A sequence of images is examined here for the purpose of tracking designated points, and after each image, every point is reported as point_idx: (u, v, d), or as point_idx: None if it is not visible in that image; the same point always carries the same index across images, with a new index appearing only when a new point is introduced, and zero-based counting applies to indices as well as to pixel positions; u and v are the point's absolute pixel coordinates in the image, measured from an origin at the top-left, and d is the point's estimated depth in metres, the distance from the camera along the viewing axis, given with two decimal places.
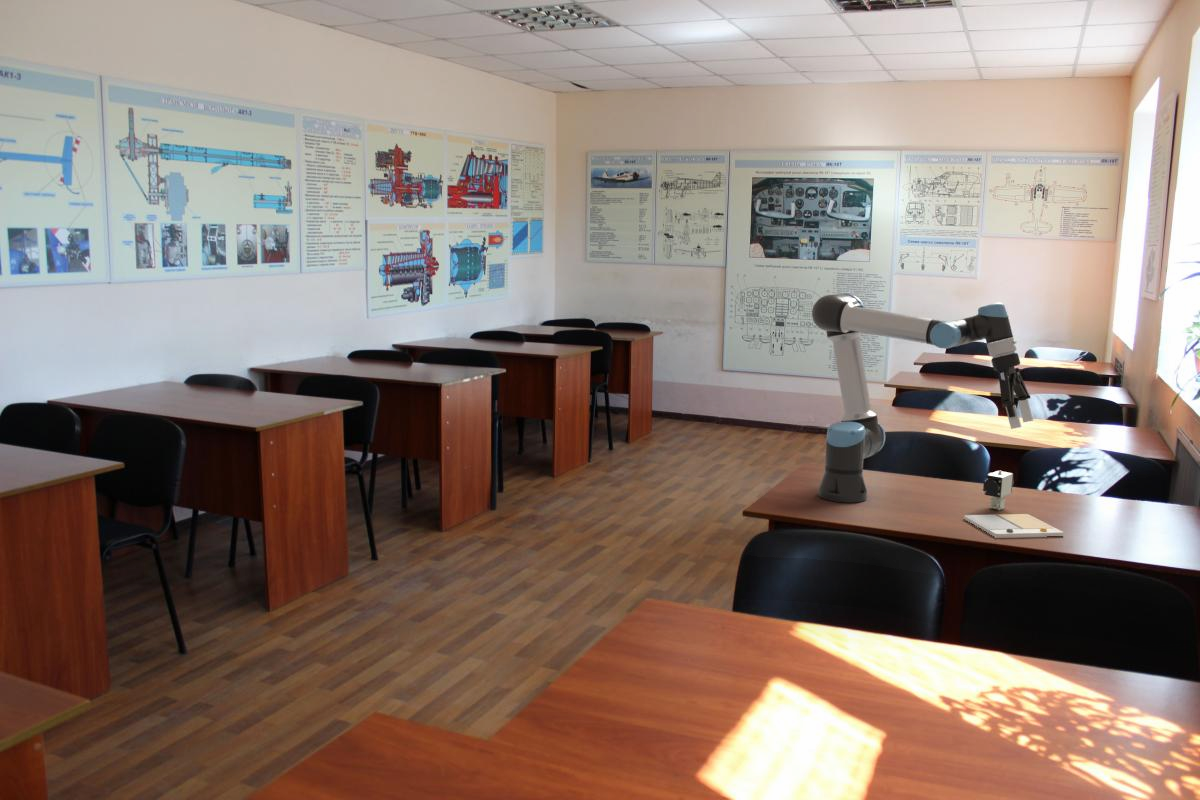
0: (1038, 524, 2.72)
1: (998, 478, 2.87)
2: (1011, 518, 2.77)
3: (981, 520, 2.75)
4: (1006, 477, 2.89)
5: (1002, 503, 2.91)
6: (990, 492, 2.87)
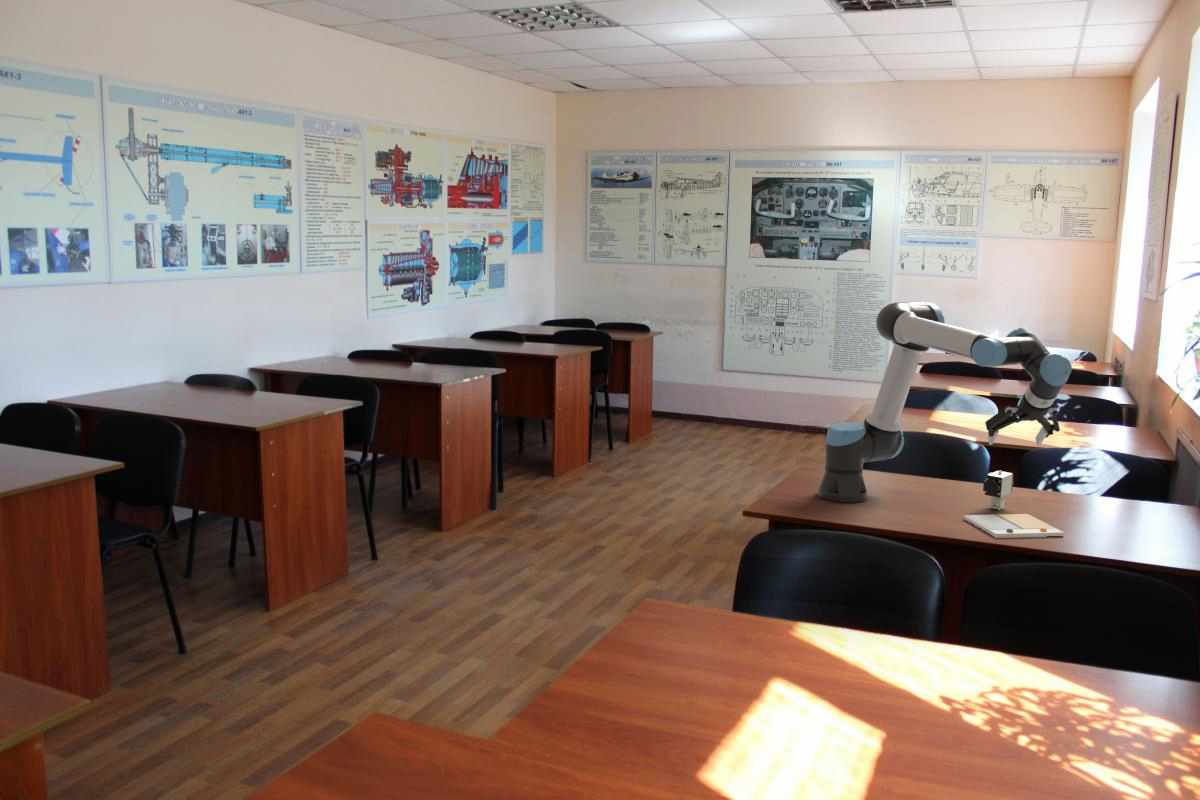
0: (1038, 524, 2.72)
1: (998, 478, 2.87)
2: (1011, 518, 2.77)
3: (981, 520, 2.75)
4: (1006, 477, 2.89)
5: (1002, 503, 2.91)
6: (990, 492, 2.87)
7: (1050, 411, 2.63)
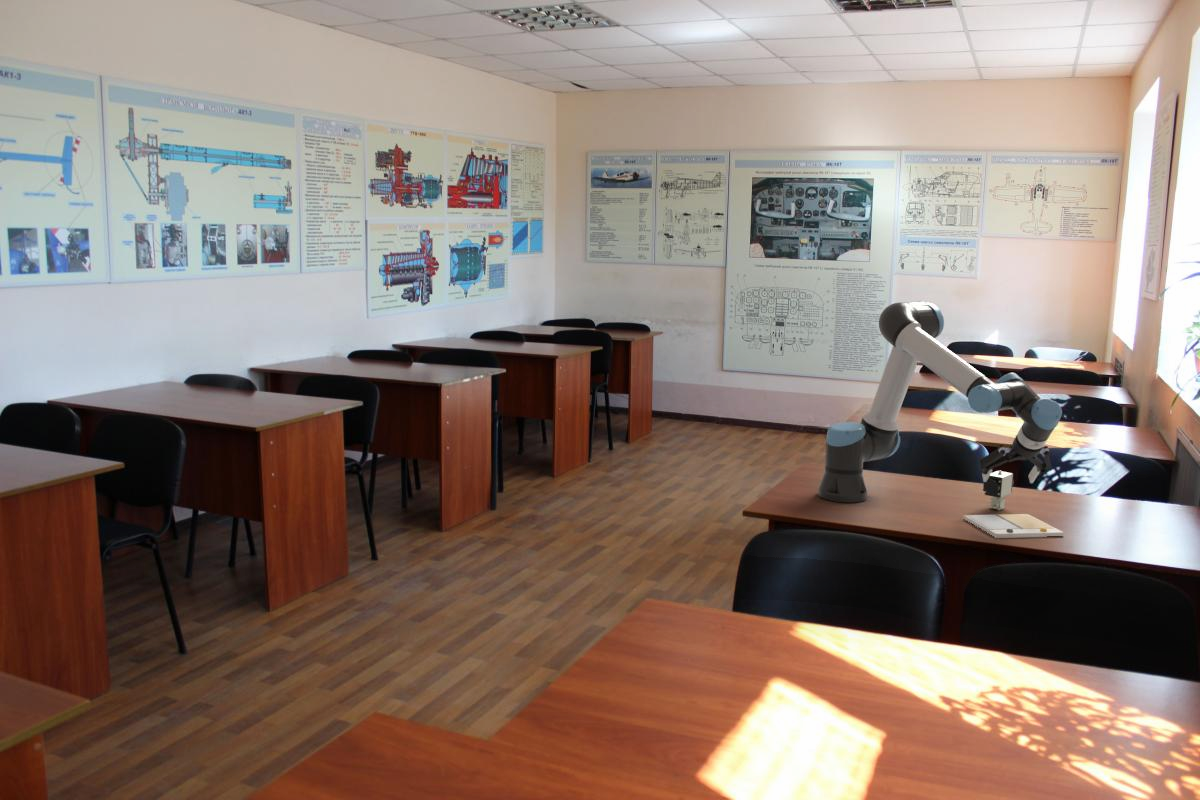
0: (1038, 524, 2.72)
1: (998, 478, 2.87)
2: (1011, 518, 2.77)
3: (981, 520, 2.75)
4: (1006, 477, 2.89)
5: (1002, 503, 2.91)
6: (990, 492, 2.87)
7: (1042, 451, 2.72)
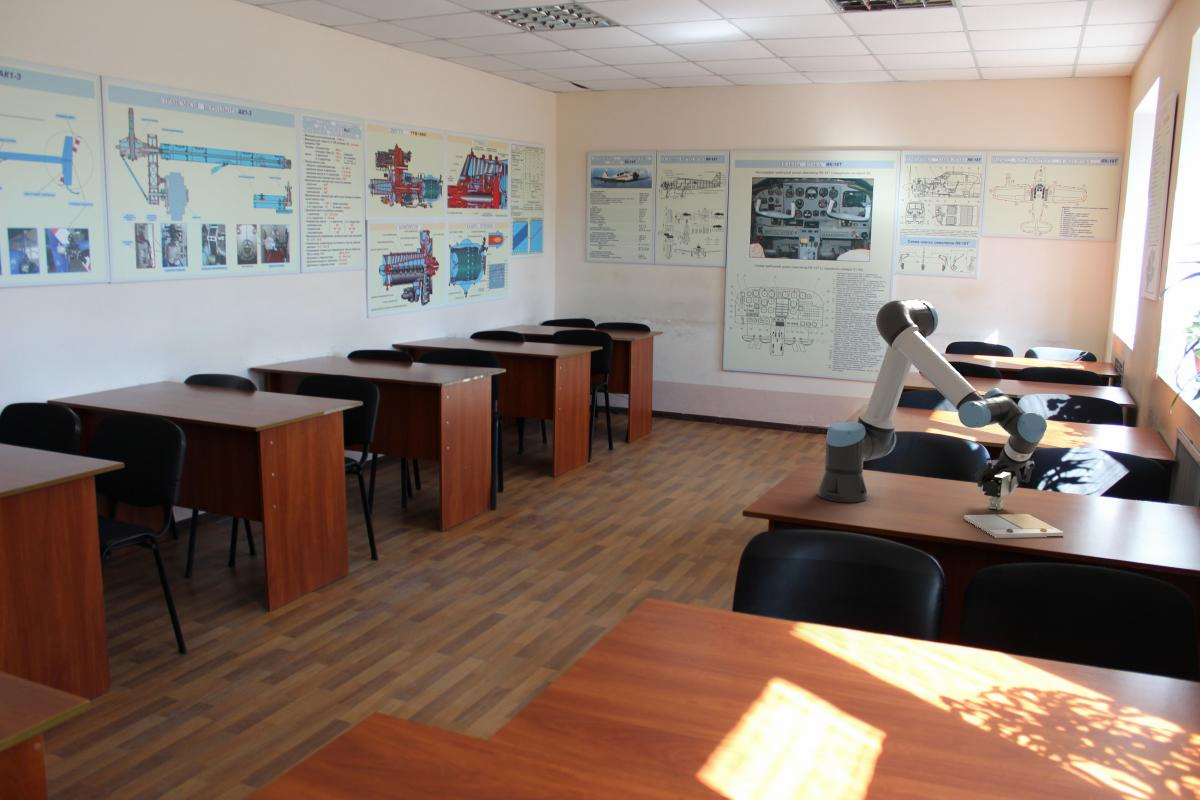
0: (1038, 524, 2.72)
1: (998, 478, 2.87)
2: (1011, 518, 2.77)
3: (981, 520, 2.75)
4: (1005, 477, 2.89)
5: (1001, 503, 2.91)
6: (990, 492, 2.87)
7: (1028, 463, 2.81)
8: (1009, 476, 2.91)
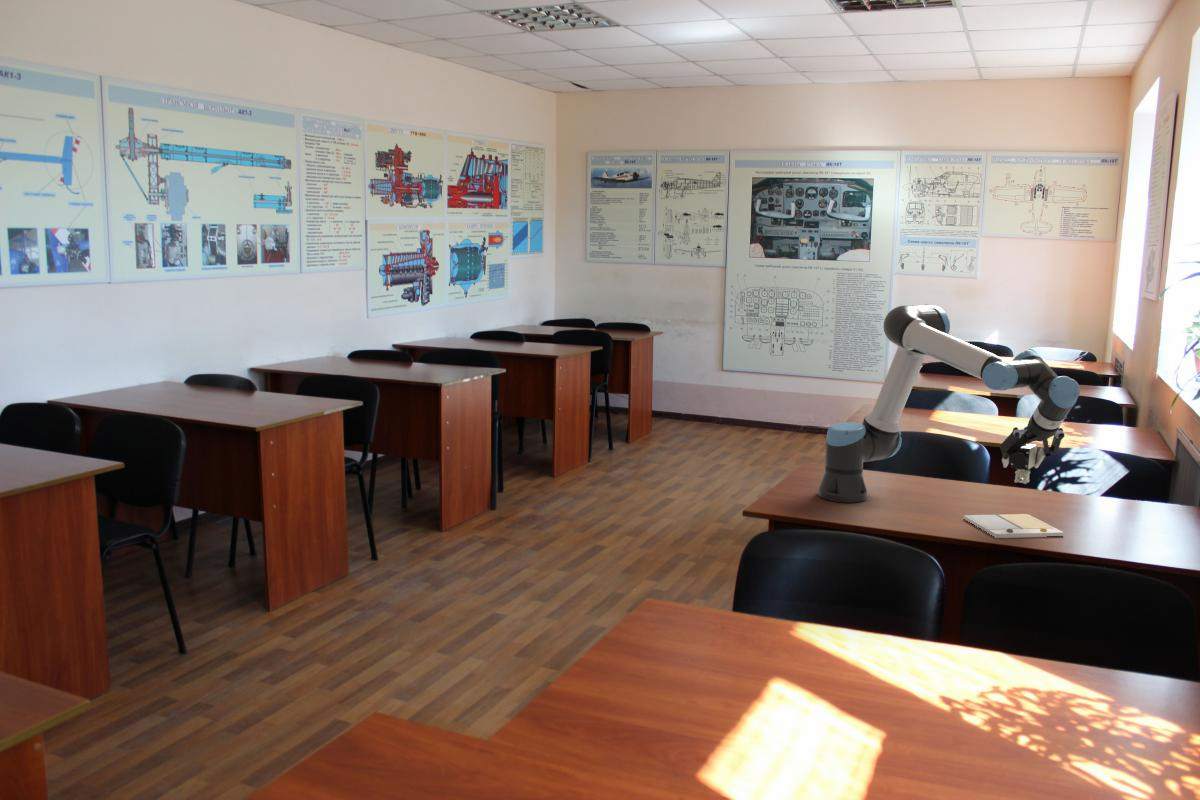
0: (1038, 524, 2.72)
1: (1025, 449, 2.71)
2: (1011, 518, 2.77)
3: (981, 520, 2.75)
4: (1032, 448, 2.74)
5: (1027, 476, 2.76)
6: (1017, 464, 2.72)
7: (1057, 433, 2.66)
8: (1035, 448, 2.76)
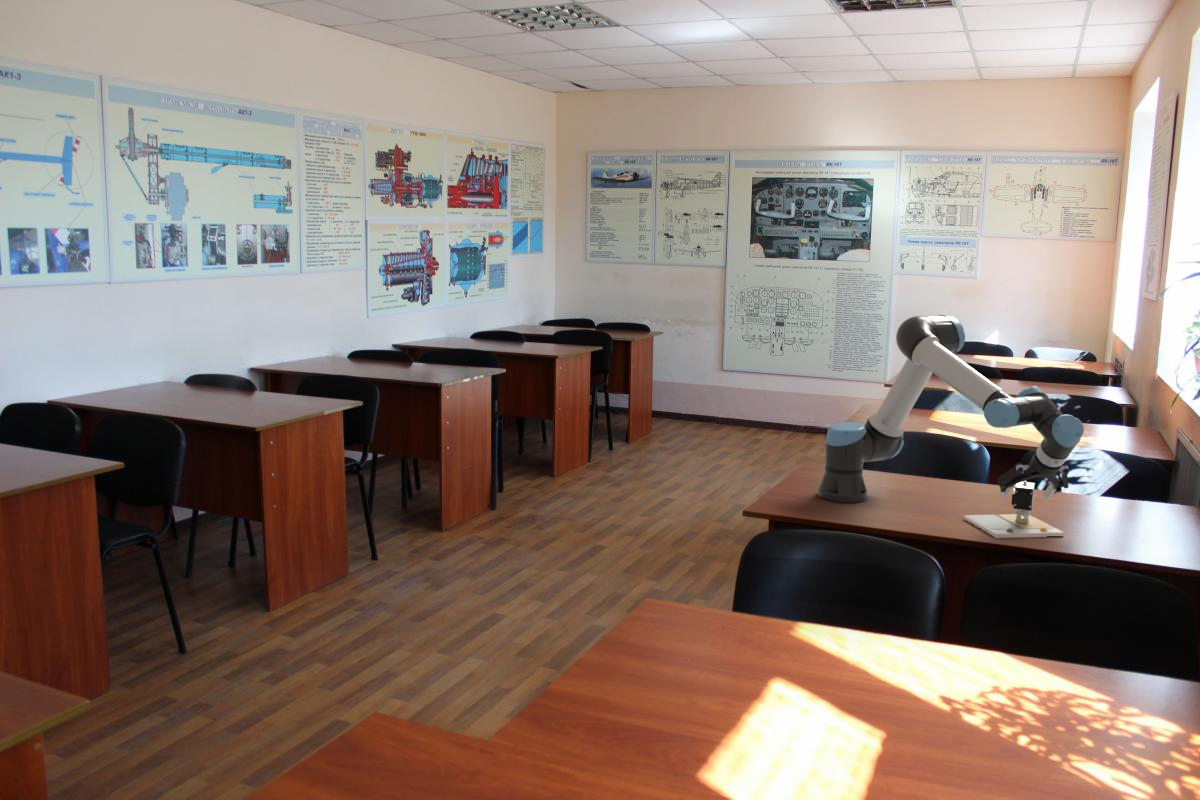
0: (1038, 524, 2.72)
1: (1029, 490, 2.68)
2: (1011, 518, 2.77)
3: (981, 520, 2.75)
4: (1033, 488, 2.71)
5: (1028, 516, 2.73)
6: (1022, 505, 2.68)
7: (1061, 469, 2.63)
8: (1034, 486, 2.74)
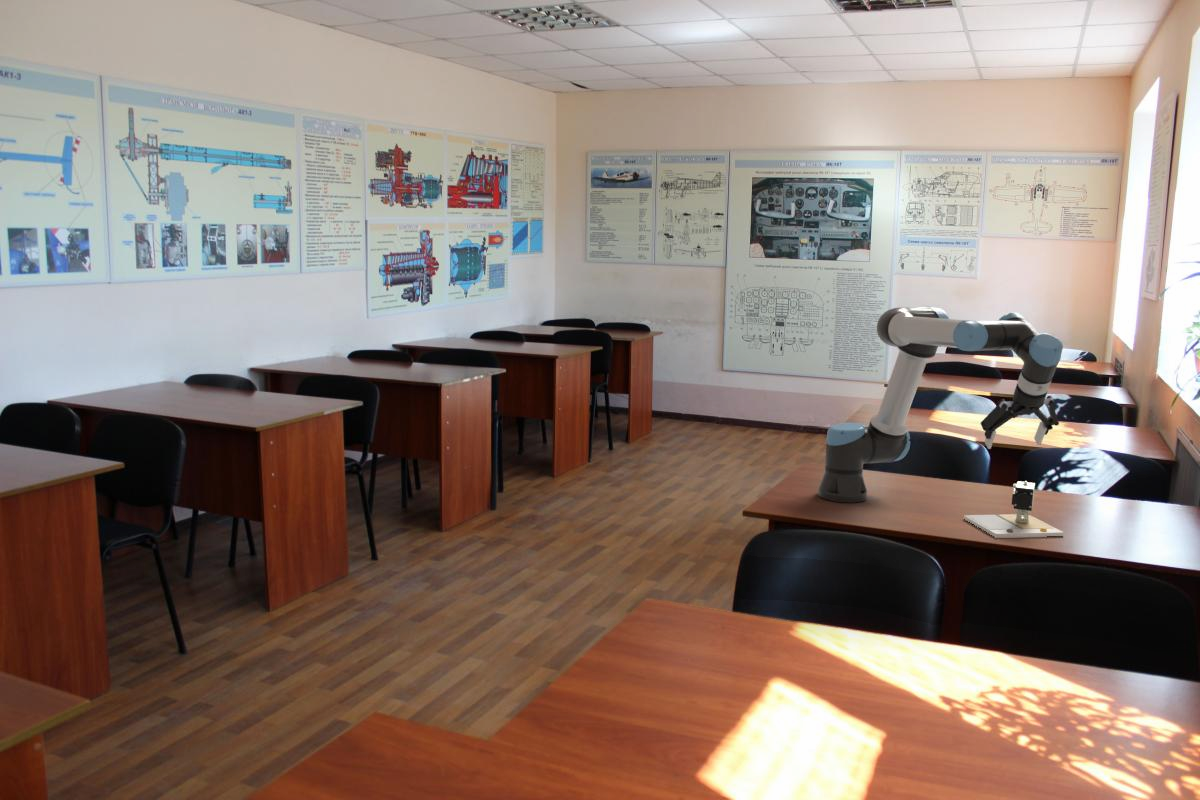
0: (1038, 524, 2.72)
1: (1029, 490, 2.68)
2: (1011, 518, 2.77)
3: (981, 520, 2.75)
4: (1034, 488, 2.71)
5: (1028, 516, 2.73)
6: (1022, 506, 2.68)
7: (1046, 401, 2.50)
8: (1034, 486, 2.74)
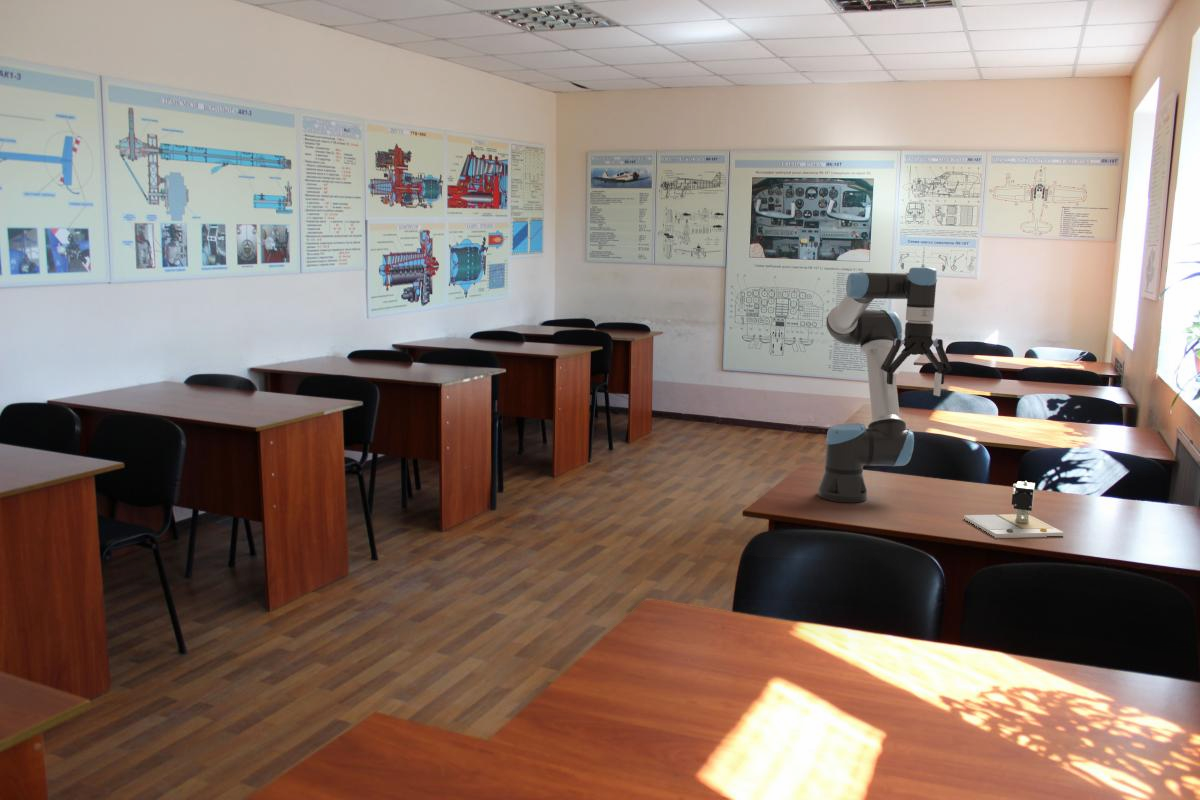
0: (1038, 524, 2.72)
1: (1029, 490, 2.68)
2: (1011, 518, 2.77)
3: (981, 520, 2.75)
4: (1034, 488, 2.71)
5: (1028, 516, 2.73)
6: (1022, 506, 2.68)
7: (935, 341, 2.72)
8: (1034, 486, 2.74)
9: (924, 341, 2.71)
